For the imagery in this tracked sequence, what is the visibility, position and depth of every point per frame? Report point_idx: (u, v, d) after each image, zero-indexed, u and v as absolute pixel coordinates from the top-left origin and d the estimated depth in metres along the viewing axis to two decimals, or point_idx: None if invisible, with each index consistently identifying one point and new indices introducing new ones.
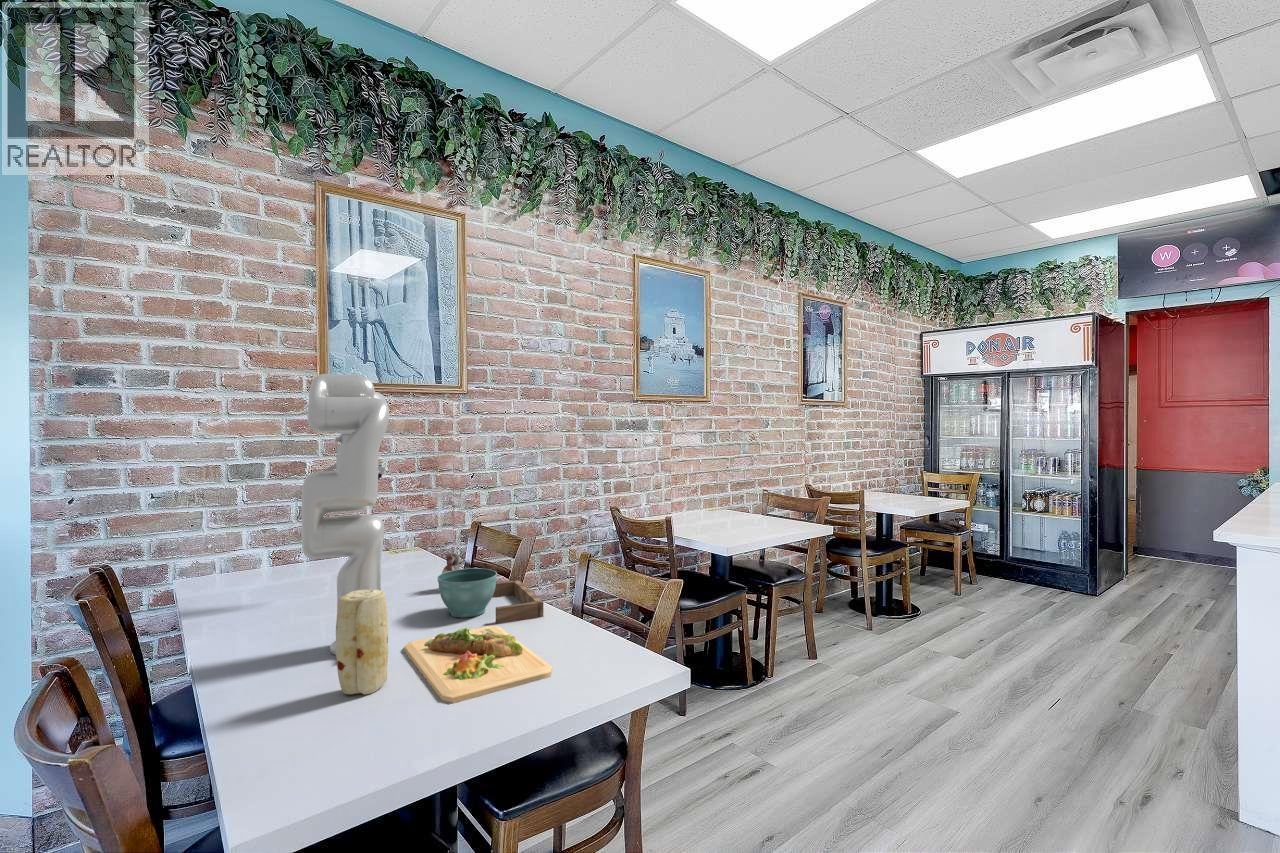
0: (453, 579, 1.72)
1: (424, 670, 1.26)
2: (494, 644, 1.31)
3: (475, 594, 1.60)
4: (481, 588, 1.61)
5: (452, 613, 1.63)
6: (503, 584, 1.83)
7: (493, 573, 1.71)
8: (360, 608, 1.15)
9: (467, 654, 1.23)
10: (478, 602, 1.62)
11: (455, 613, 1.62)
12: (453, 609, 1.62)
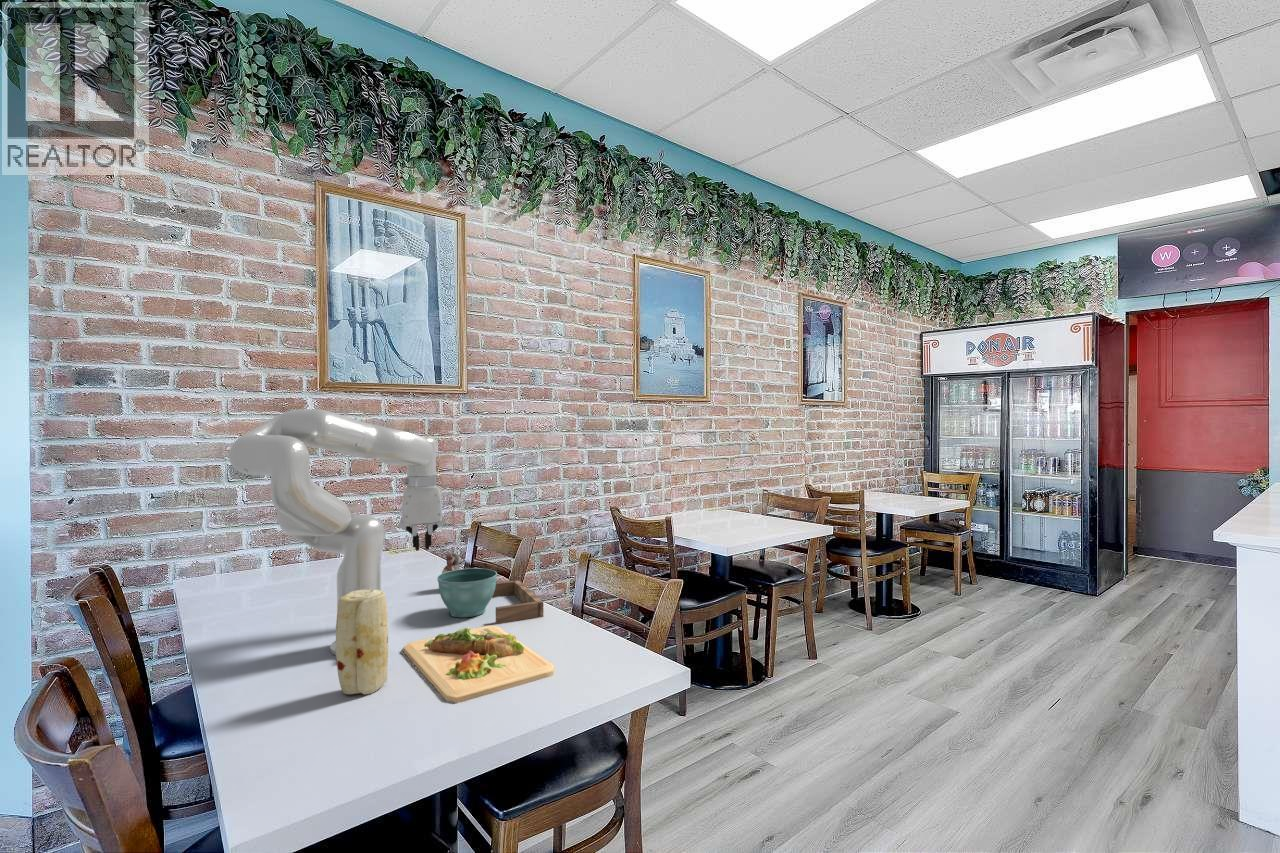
0: (453, 579, 1.72)
1: (426, 671, 1.25)
2: (495, 644, 1.32)
3: (475, 594, 1.60)
4: (481, 588, 1.61)
5: (452, 613, 1.63)
6: (503, 584, 1.83)
7: (493, 573, 1.71)
8: (360, 608, 1.15)
9: (469, 654, 1.23)
10: (478, 602, 1.62)
11: (455, 613, 1.62)
12: (453, 609, 1.62)
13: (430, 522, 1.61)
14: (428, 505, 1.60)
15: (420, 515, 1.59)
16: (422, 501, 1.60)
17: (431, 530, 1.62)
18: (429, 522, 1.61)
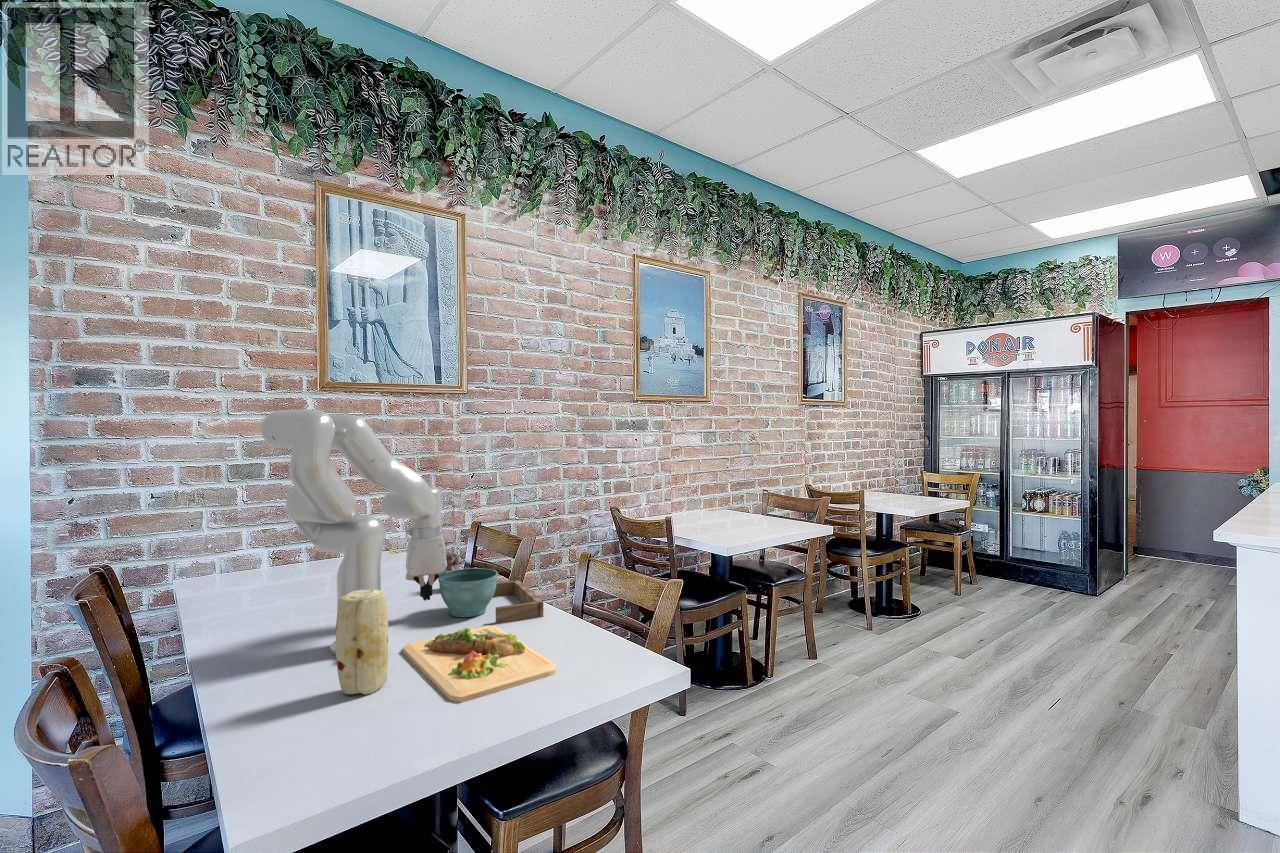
0: (453, 579, 1.72)
1: (427, 671, 1.25)
2: (496, 643, 1.32)
3: (476, 594, 1.61)
4: (482, 588, 1.62)
5: (453, 613, 1.63)
6: (503, 584, 1.83)
7: (493, 573, 1.72)
8: (360, 608, 1.15)
9: (472, 654, 1.23)
10: (479, 602, 1.62)
11: (456, 613, 1.63)
12: (454, 609, 1.62)
13: (434, 573, 1.61)
14: (432, 556, 1.61)
15: (424, 566, 1.60)
16: (426, 552, 1.60)
17: (432, 580, 1.62)
18: (433, 573, 1.61)
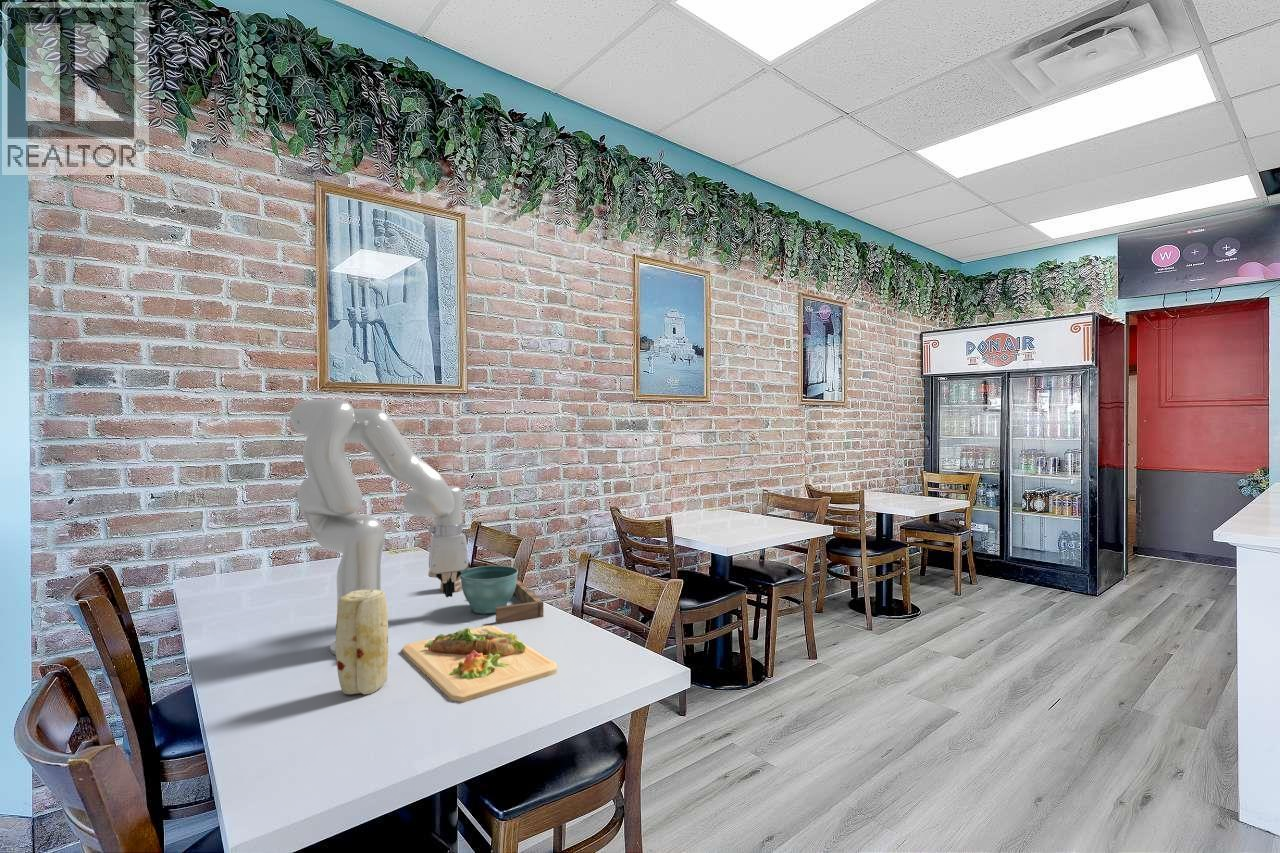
0: (474, 576, 1.75)
1: (428, 671, 1.25)
2: (497, 643, 1.32)
3: (498, 591, 1.64)
4: (504, 585, 1.65)
5: (475, 609, 1.66)
6: None
7: (513, 570, 1.75)
8: (360, 608, 1.15)
9: (473, 653, 1.23)
10: (501, 598, 1.65)
11: (478, 609, 1.65)
12: (476, 605, 1.65)
13: (457, 570, 1.64)
14: (455, 553, 1.64)
15: (447, 563, 1.63)
16: (449, 550, 1.63)
17: (454, 577, 1.65)
18: (456, 570, 1.64)
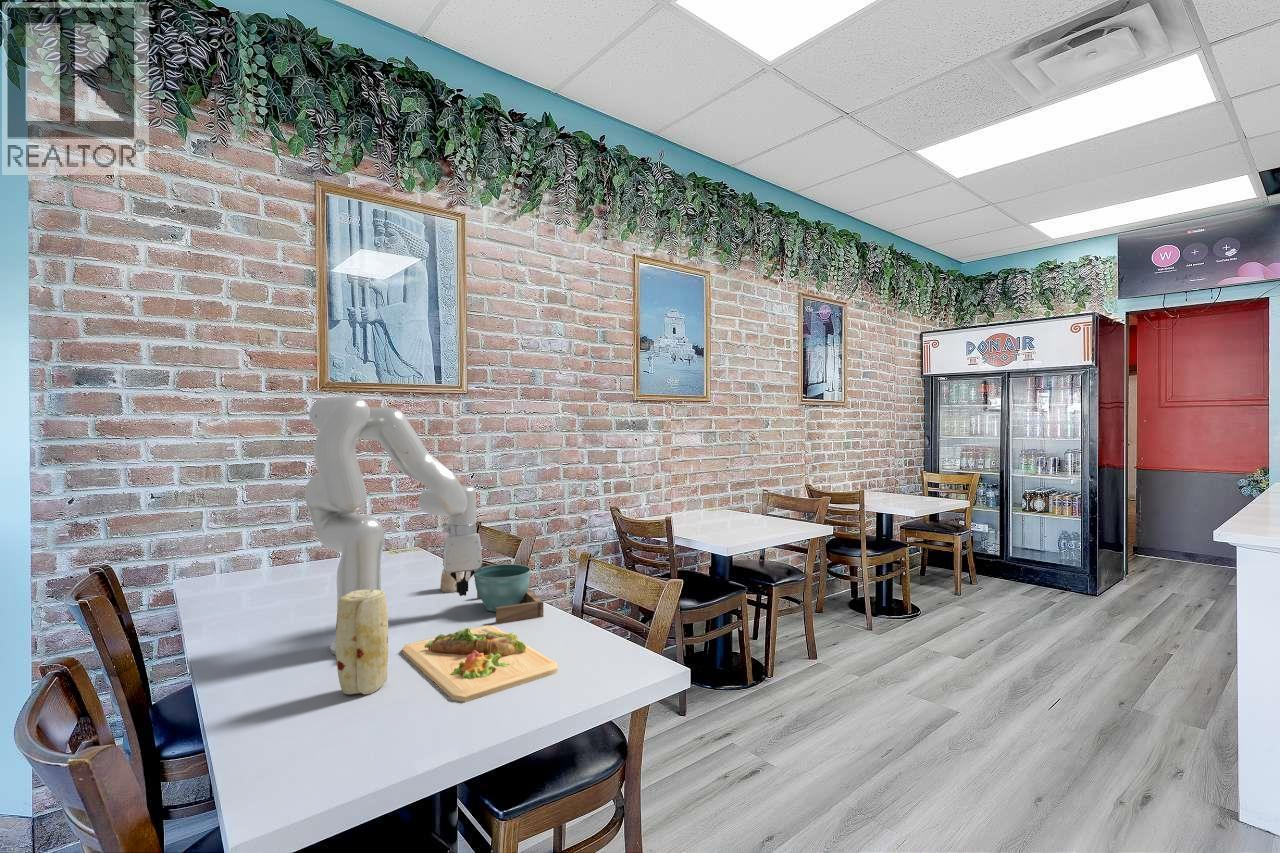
0: (486, 575, 1.76)
1: (429, 671, 1.25)
2: (497, 643, 1.32)
3: (512, 589, 1.65)
4: (518, 583, 1.66)
5: (489, 608, 1.68)
6: None
7: (526, 569, 1.76)
8: (360, 608, 1.15)
9: (474, 653, 1.23)
10: (515, 596, 1.67)
11: (492, 608, 1.67)
12: (490, 604, 1.66)
13: (471, 569, 1.66)
14: (469, 552, 1.65)
15: (461, 562, 1.64)
16: (463, 549, 1.65)
17: (468, 576, 1.67)
18: (470, 569, 1.66)
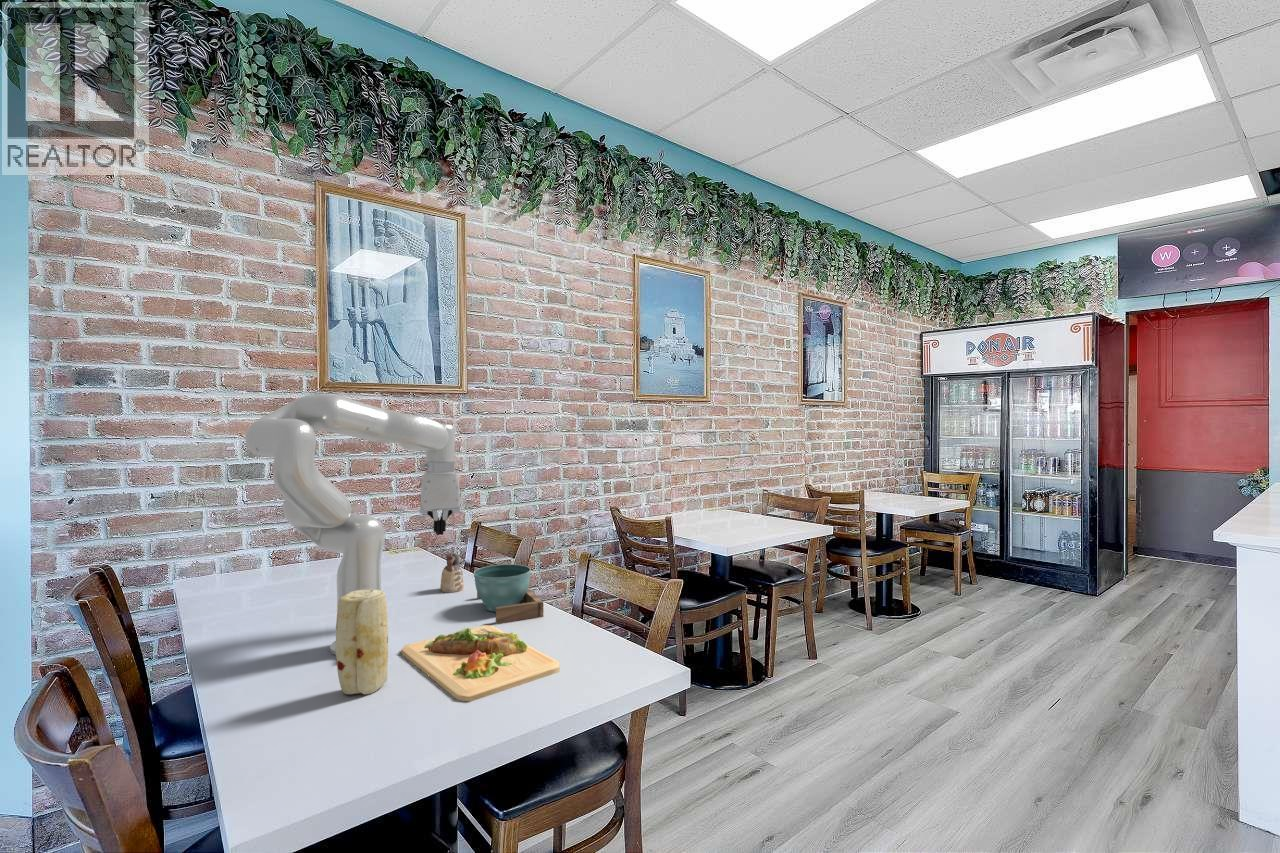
0: (486, 575, 1.76)
1: (431, 672, 1.25)
2: (498, 643, 1.32)
3: (512, 589, 1.65)
4: (518, 583, 1.66)
5: (489, 608, 1.68)
6: None
7: (526, 569, 1.76)
8: (360, 608, 1.15)
9: (477, 653, 1.23)
10: (515, 597, 1.67)
11: (492, 608, 1.67)
12: (490, 604, 1.66)
13: (448, 507, 1.63)
14: (446, 491, 1.62)
15: (438, 500, 1.61)
16: (440, 486, 1.62)
17: (446, 516, 1.64)
18: (447, 507, 1.62)
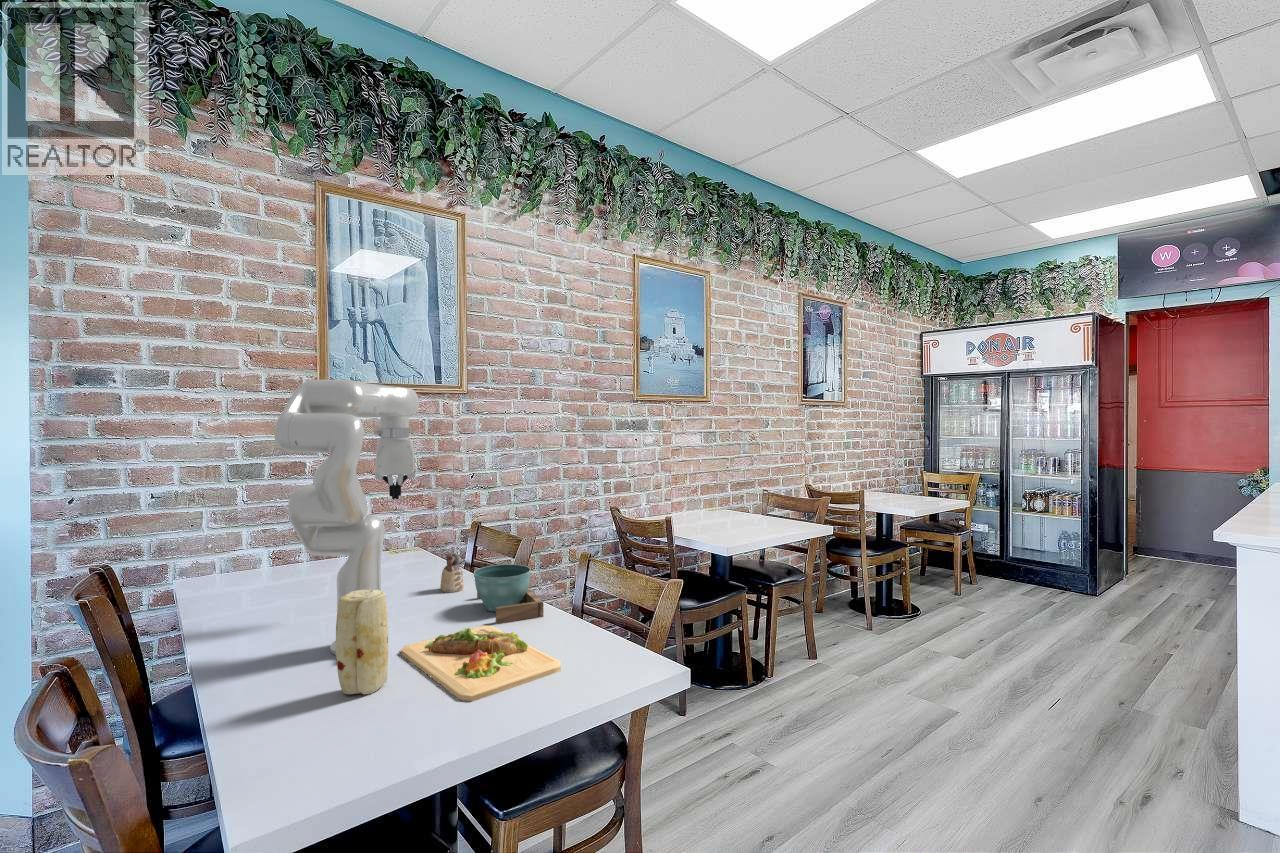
0: (486, 575, 1.76)
1: (432, 672, 1.25)
2: (499, 642, 1.32)
3: (512, 589, 1.65)
4: (518, 583, 1.66)
5: (489, 608, 1.68)
6: None
7: (526, 569, 1.76)
8: (360, 608, 1.15)
9: (478, 653, 1.23)
10: (515, 597, 1.67)
11: (492, 608, 1.67)
12: (490, 604, 1.66)
13: (403, 472, 1.67)
14: (401, 456, 1.66)
15: (393, 465, 1.66)
16: (394, 452, 1.66)
17: (401, 480, 1.68)
18: (402, 472, 1.67)
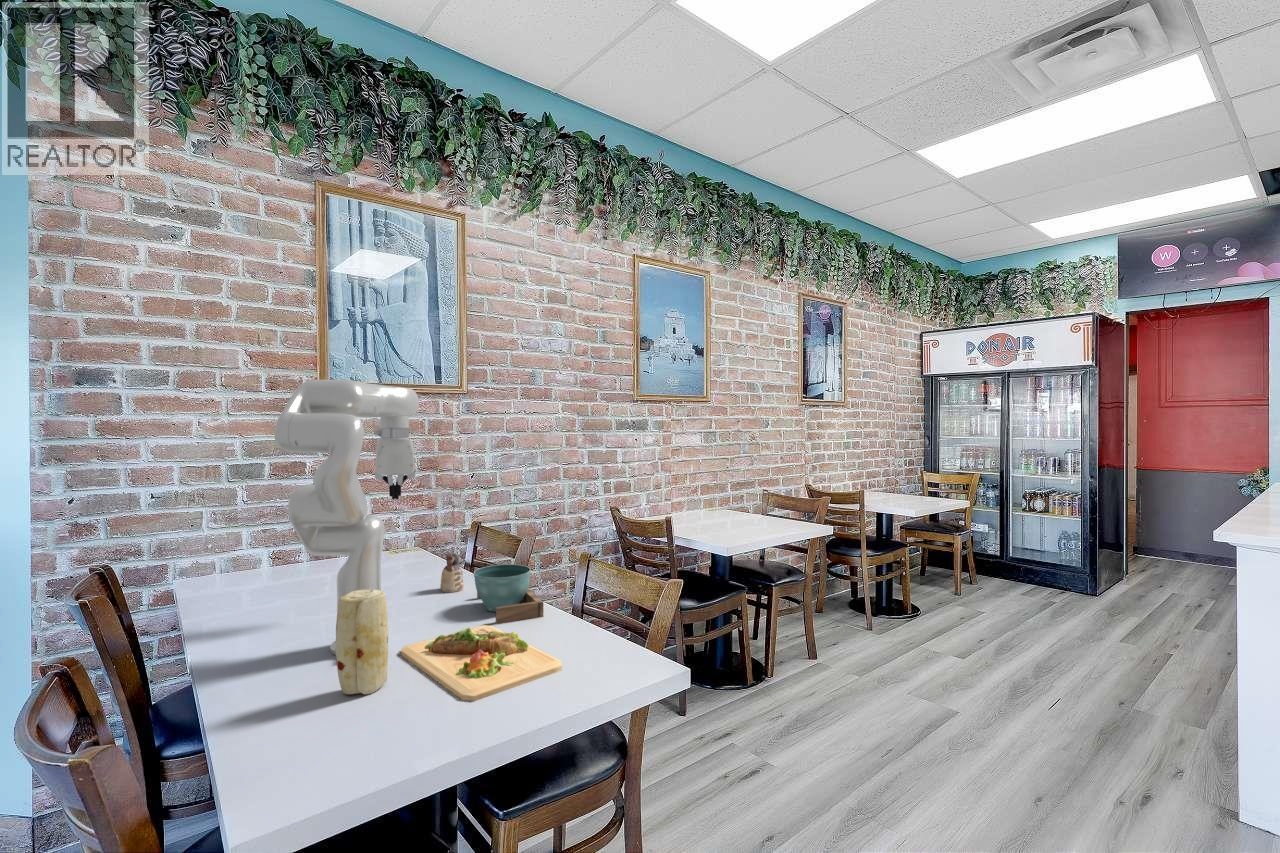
0: (486, 575, 1.76)
1: (433, 672, 1.25)
2: (500, 642, 1.32)
3: (512, 589, 1.65)
4: (518, 583, 1.66)
5: (489, 608, 1.68)
6: None
7: (526, 569, 1.76)
8: (360, 608, 1.15)
9: (479, 653, 1.23)
10: (515, 597, 1.67)
11: (492, 608, 1.67)
12: (490, 604, 1.66)
13: (403, 472, 1.67)
14: (401, 456, 1.66)
15: (393, 465, 1.66)
16: (394, 452, 1.66)
17: (401, 480, 1.68)
18: (402, 472, 1.67)
